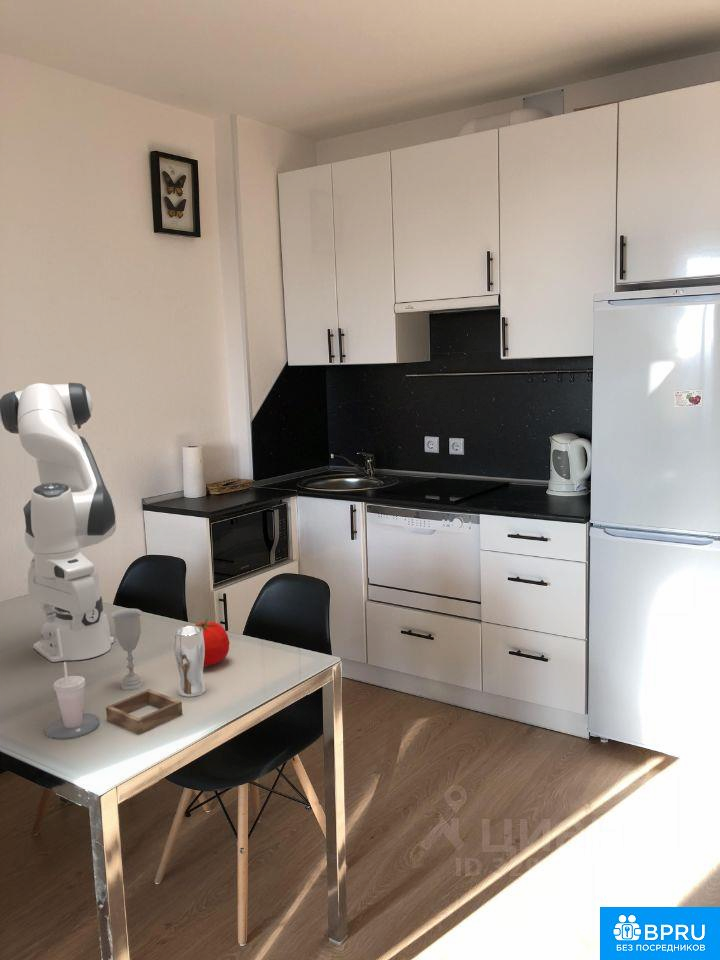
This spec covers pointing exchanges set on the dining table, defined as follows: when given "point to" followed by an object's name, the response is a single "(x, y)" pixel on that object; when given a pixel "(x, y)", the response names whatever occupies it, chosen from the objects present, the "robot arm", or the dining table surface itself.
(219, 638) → the tomato
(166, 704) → the wooden serving tray
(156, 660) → the dining table surface
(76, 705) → the smoothie
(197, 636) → the beer glass
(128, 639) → the chalice
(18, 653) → the dining table surface
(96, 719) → the disc
